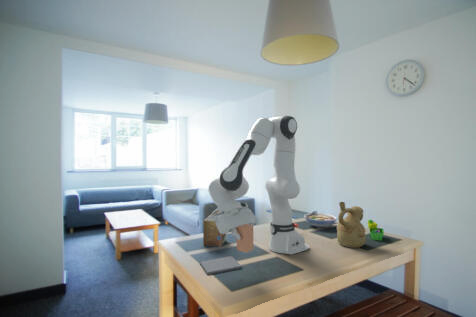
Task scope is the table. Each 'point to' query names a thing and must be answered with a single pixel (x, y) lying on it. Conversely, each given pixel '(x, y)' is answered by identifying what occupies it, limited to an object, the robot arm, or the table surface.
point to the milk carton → (212, 232)
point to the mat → (220, 265)
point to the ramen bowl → (320, 219)
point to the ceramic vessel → (350, 227)
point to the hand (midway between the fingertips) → (246, 237)
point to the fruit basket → (375, 230)
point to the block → (245, 238)
